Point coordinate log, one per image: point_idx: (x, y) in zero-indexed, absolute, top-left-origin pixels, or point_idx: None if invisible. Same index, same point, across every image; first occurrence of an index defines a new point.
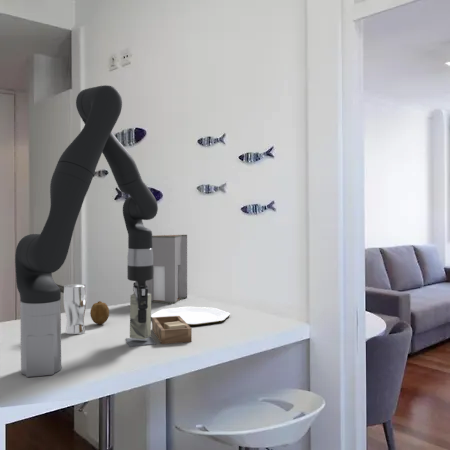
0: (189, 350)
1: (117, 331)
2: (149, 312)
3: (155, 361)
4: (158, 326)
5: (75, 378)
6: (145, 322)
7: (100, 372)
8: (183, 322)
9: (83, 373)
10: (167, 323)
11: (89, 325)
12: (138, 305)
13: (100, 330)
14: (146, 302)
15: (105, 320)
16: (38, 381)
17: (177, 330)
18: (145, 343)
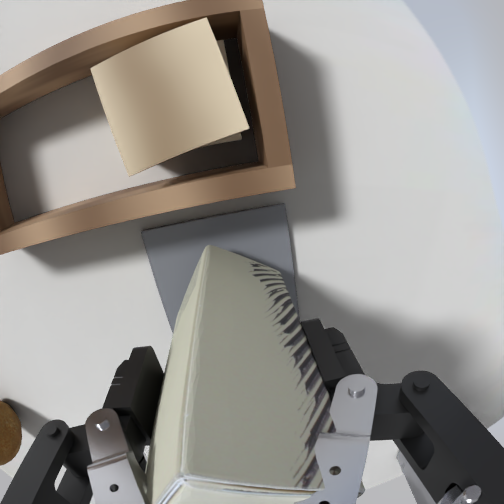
0: (400, 58)
1: (61, 371)
2: (236, 330)
3: (488, 211)
4: (171, 210)
5: (497, 373)
6: (292, 316)
7: (496, 341)
8: (78, 47)
9: (484, 371)
10: (150, 147)
11: (27, 428)
12: (396, 443)
13: (65, 413)
14: (461, 411)
15: (2, 405)
16: (476, 416)
17: (276, 77)
18: (277, 258)
